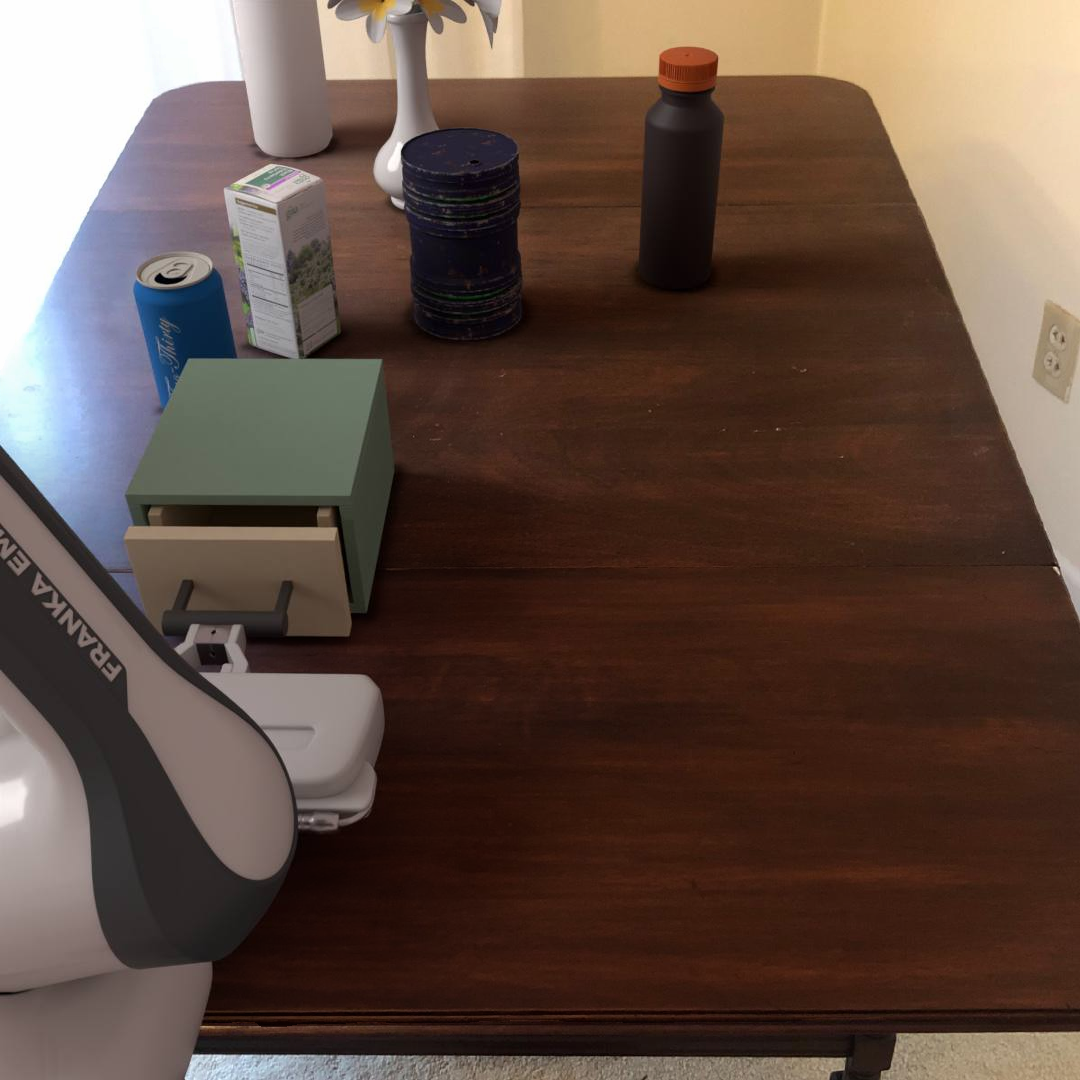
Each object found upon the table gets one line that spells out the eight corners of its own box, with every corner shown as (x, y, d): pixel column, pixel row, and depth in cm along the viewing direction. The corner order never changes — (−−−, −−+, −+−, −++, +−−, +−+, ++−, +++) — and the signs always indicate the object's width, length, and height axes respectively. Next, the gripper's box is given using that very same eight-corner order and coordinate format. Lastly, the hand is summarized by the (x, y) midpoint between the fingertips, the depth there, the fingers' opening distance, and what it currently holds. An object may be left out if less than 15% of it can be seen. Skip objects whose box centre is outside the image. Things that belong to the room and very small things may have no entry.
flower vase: (522, 218, 124) (517, -47, 108) (339, 231, 122) (307, -37, 106) (507, 168, 134) (500, -82, 118) (337, 179, 132) (307, -74, 116)
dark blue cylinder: (395, 301, 111) (380, 140, 101) (493, 277, 114) (487, 119, 105) (440, 351, 104) (428, 183, 94) (542, 324, 107) (541, 159, 98)
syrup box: (291, 317, 109) (267, 159, 99) (344, 334, 106) (324, 174, 97) (248, 346, 105) (219, 185, 96) (302, 364, 103) (277, 200, 93)
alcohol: (260, 131, 143) (214, -161, 124) (336, 128, 143) (301, -163, 124) (251, 160, 136) (201, -143, 117) (330, 158, 136) (293, -146, 117)
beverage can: (148, 422, 96) (112, 284, 88) (185, 379, 101) (155, 245, 93) (224, 432, 95) (194, 293, 87) (258, 388, 100) (233, 253, 92)
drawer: (339, 686, 73) (322, 588, 68) (132, 684, 73) (100, 587, 68) (378, 494, 87) (367, 402, 82) (205, 493, 87) (184, 402, 82)
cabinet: (366, 613, 79) (350, 495, 73) (157, 612, 79) (124, 494, 73) (394, 470, 91) (382, 358, 85) (213, 469, 91) (188, 358, 85)
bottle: (630, 286, 113) (639, 65, 100) (647, 253, 118) (658, 39, 105) (702, 296, 111) (721, 72, 98) (717, 262, 116) (736, 46, 103)
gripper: (362, 792, 57) (396, 593, 68) (-71, 785, 57) (30, 589, 68) (375, 872, 61) (405, 673, 72) (-30, 866, 61) (60, 668, 72)
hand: (220, 632), depth 70 cm, fingers closed, pressing on drawer
